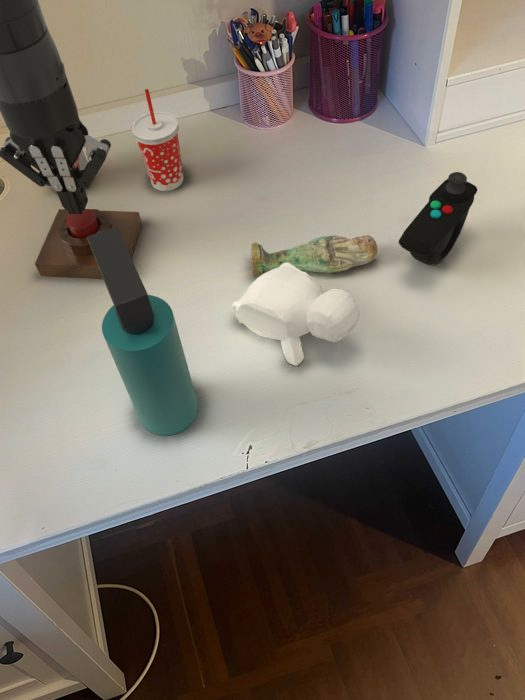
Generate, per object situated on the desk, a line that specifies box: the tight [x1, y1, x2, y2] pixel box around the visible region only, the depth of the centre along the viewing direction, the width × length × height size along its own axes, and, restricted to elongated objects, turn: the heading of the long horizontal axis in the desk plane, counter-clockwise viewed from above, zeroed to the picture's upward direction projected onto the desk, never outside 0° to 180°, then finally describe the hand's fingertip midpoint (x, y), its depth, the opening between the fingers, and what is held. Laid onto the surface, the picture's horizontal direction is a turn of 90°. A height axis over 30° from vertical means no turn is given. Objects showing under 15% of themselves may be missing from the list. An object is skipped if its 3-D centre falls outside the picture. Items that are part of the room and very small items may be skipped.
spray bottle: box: [87, 227, 199, 436], centre depth 63 cm, size 11×6×20 cm, turn 24°
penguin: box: [230, 263, 360, 367], centre depth 72 cm, size 9×8×15 cm
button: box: [67, 208, 99, 239], centre depth 82 cm, size 4×4×2 cm
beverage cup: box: [131, 88, 185, 192], centre depth 87 cm, size 6×6×14 cm
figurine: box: [250, 234, 378, 277], centre depth 80 cm, size 6×15×4 cm, turn 86°
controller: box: [398, 171, 478, 266], centre depth 77 cm, size 4×12×10 cm, turn 142°
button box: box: [34, 208, 143, 280], centre depth 84 cm, size 11×10×4 cm
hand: (78, 209), depth 80 cm, fingers closed
